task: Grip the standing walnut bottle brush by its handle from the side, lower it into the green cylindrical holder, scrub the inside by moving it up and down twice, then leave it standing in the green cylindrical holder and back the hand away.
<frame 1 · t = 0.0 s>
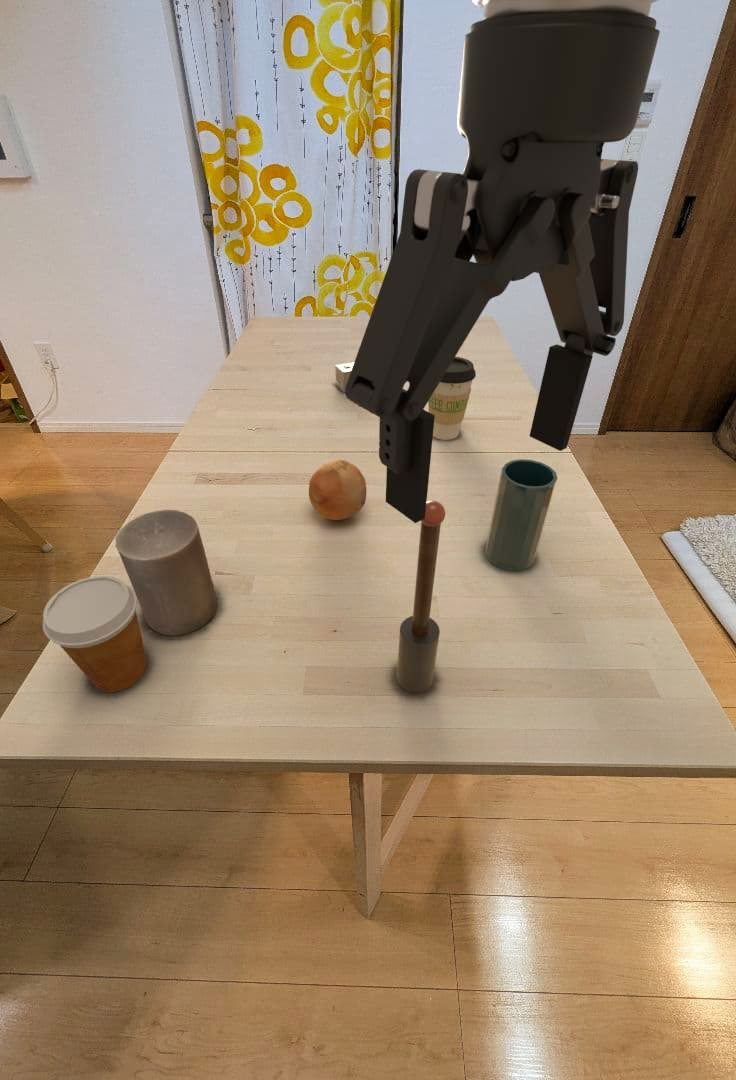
hand: (482, 473, 34), 35 cm above the table, tool pointing down, fingers open, 13 cm apart
dice cube: (349, 387, 130), on the table
coffee cup: (444, 433, 112), on the table
onion: (338, 514, 89), on the table
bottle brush: (414, 678, 63), on the table
disposable coffee cup: (120, 671, 64), on the table
green cylindrical holder: (509, 555, 81), on the table
pillar candle: (182, 610, 72), on the table
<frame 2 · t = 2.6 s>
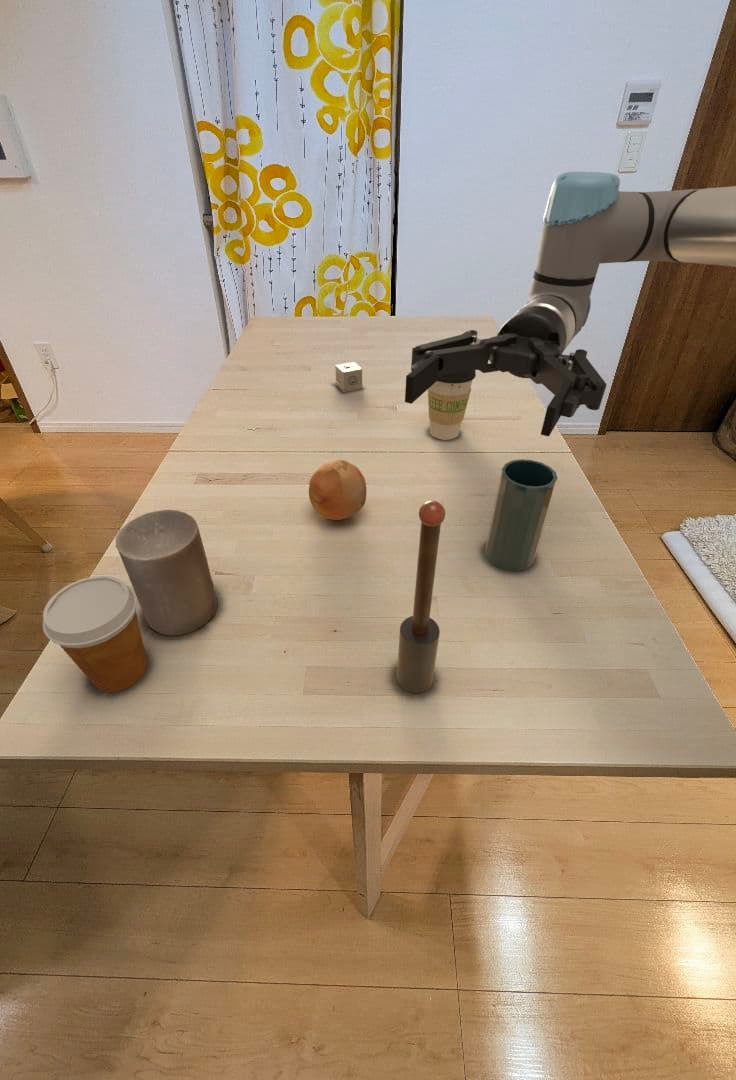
hand: (474, 405, 48), 32 cm above the table, tool horizontal, fingers open, 13 cm apart
nothing on the table moved.
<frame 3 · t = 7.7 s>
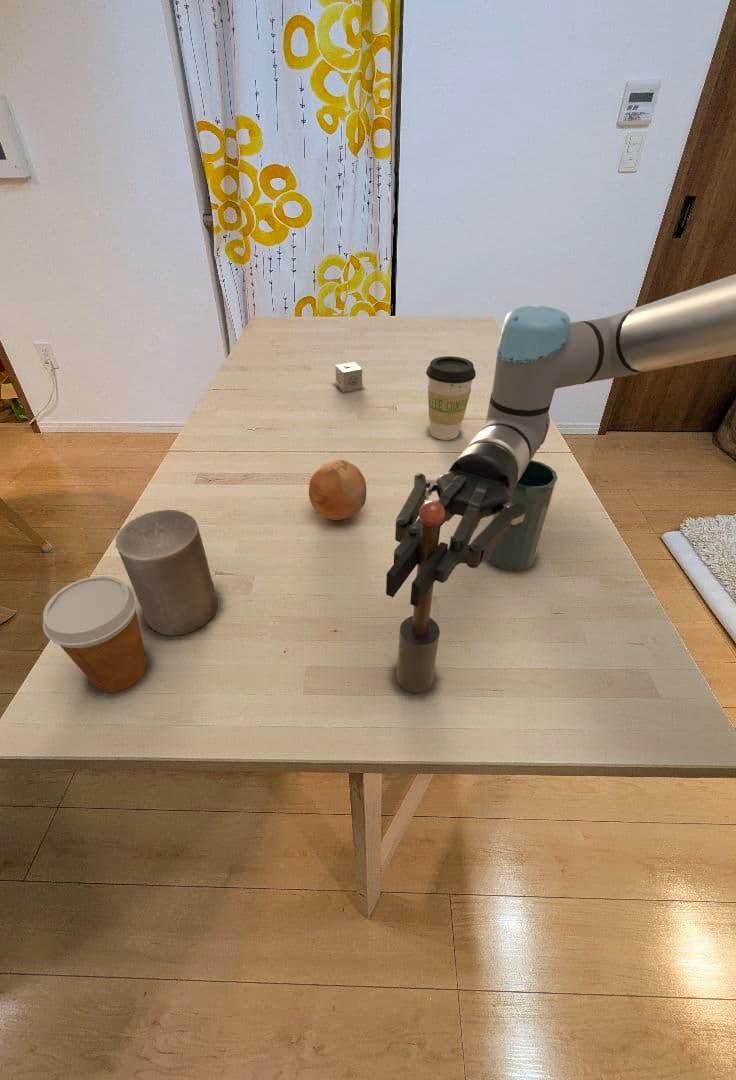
hand: (402, 590, 47), 20 cm above the table, tool horizontal, fingers closed on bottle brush, 2 cm apart
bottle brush: (414, 678, 63), on the table, touching gripper
everything else where it was.
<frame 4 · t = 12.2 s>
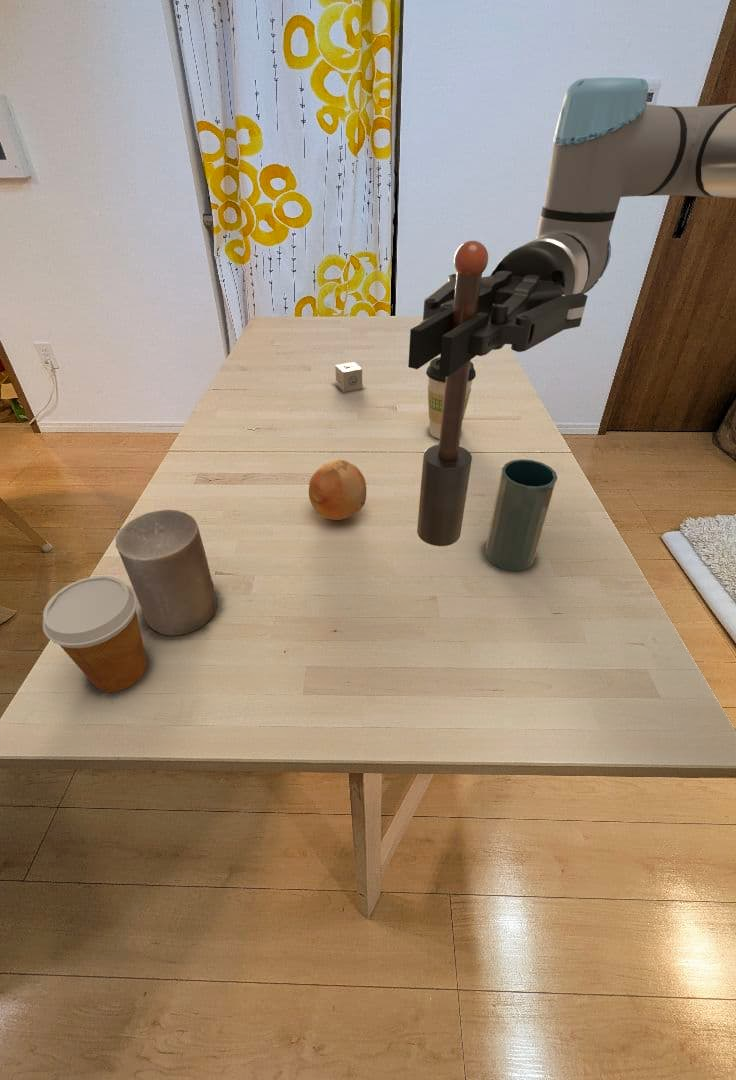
hand: (429, 353, 37), 40 cm above the table, tool horizontal, fingers closed on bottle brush, 2 cm apart
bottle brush: (438, 532, 53), point 20 cm above the table, touching gripper
everything else where it was.
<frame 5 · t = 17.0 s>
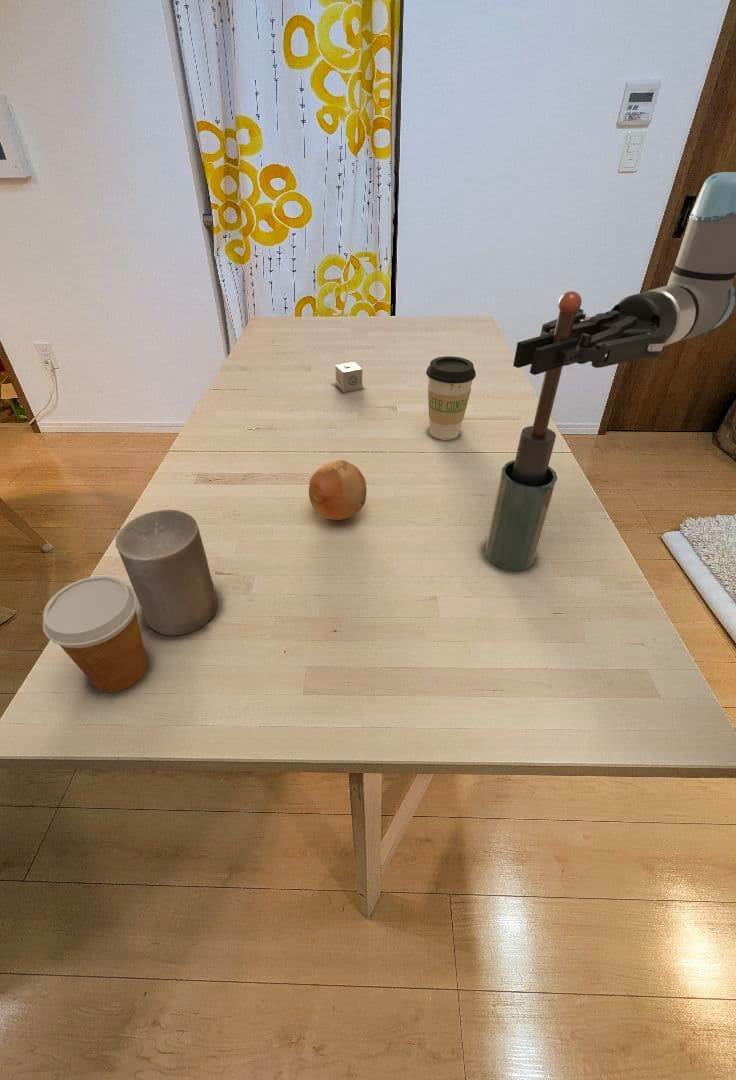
hand: (526, 358, 58), 32 cm above the table, tool horizontal, fingers closed on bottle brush, 2 cm apart
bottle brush: (524, 490, 73), point 12 cm above the table, touching gripper
everything else where it was.
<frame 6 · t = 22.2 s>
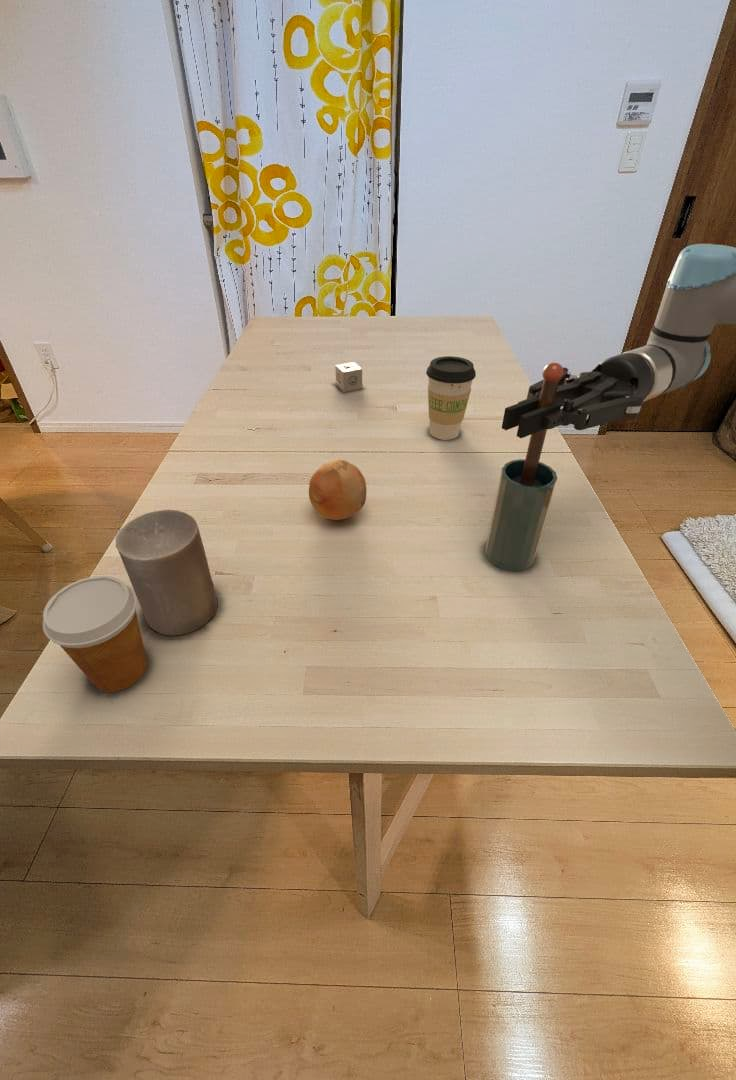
hand: (513, 423, 63), 24 cm above the table, tool horizontal, fingers closed on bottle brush, 2 cm apart
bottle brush: (514, 534, 78), point 4 cm above the table, touching gripper
everything else where it was.
when the fingers open (21 cm above the table, at t = 26.4 s): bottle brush stays where it is, resting on green cylindrical holder.
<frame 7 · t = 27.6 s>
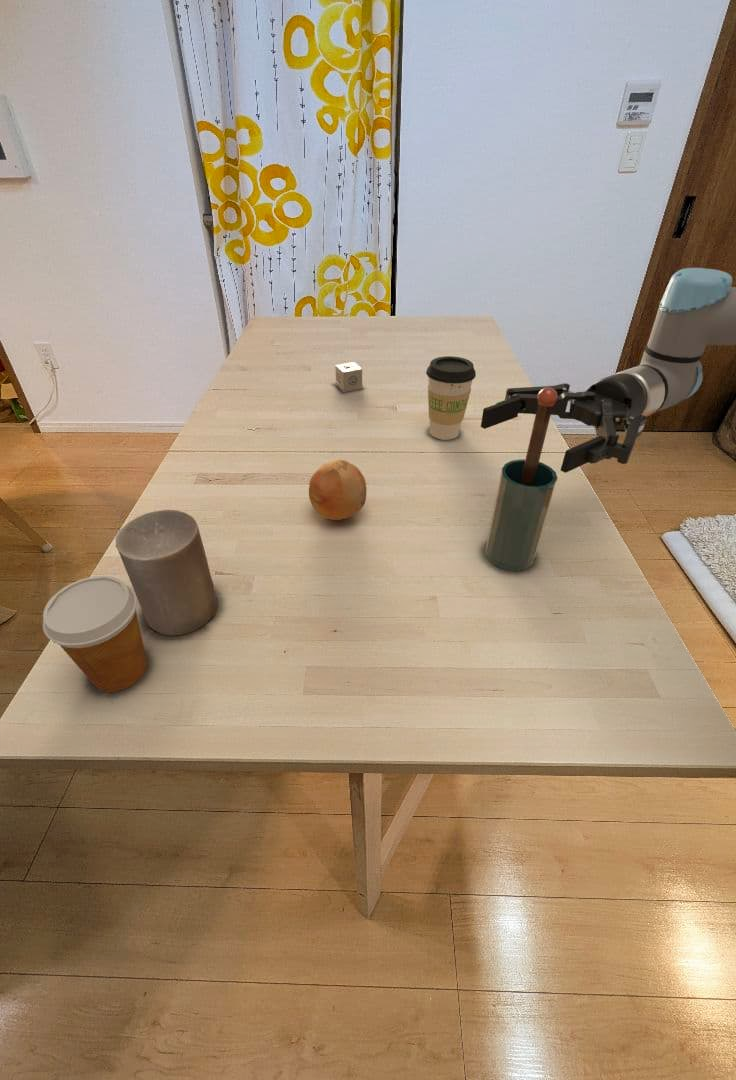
hand: (521, 439, 66), 21 cm above the table, tool horizontal, fingers open, 13 cm apart
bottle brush: (510, 550, 80), point 1 cm above the table, touching green cylindrical holder
everything else where it was.
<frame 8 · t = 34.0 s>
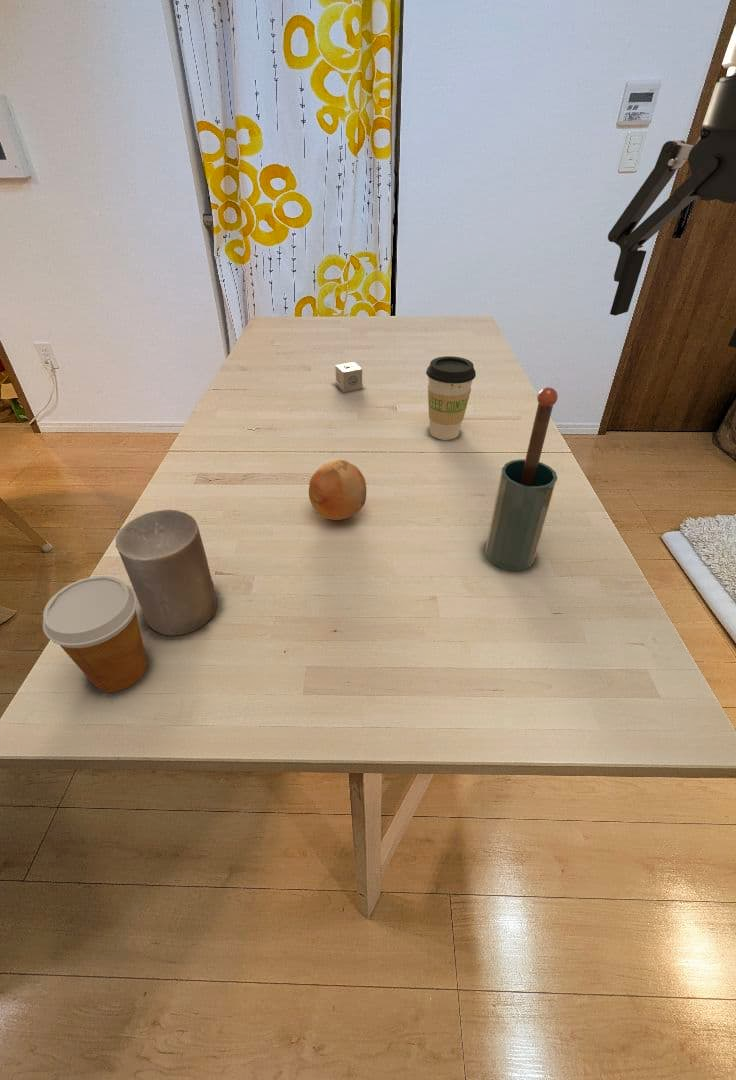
hand: (673, 327, 58), 35 cm above the table, tool pointing down, fingers open, 13 cm apart
nothing on the table moved.
at the end: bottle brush 0.0 cm off-centre in the green cylindrical holder, point 1.0 cm above the green cylindrical holder's base; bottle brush tilted 0°; the gripper is holding nothing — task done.
